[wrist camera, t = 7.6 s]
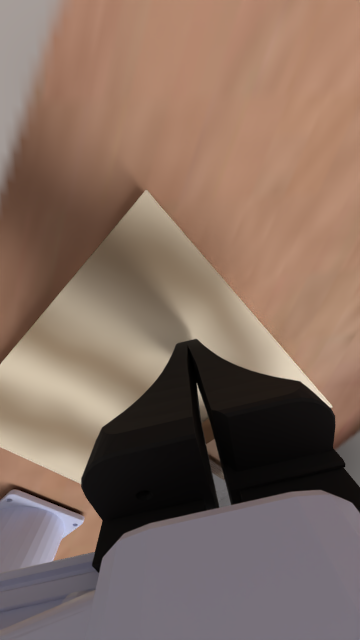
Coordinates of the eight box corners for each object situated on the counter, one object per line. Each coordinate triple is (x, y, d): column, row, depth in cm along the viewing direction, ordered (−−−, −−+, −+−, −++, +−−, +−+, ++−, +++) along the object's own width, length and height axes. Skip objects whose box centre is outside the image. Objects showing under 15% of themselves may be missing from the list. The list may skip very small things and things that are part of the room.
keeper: (211, 470, 16) (221, 519, 13) (159, 437, 14) (157, 484, 11) (237, 452, 15) (253, 499, 12) (186, 415, 13) (191, 459, 10)
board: (160, 504, 19) (160, 520, 18) (-32, 409, 13) (-50, 424, 12) (320, 395, 15) (332, 406, 14) (148, 197, 9) (146, 189, 8)
